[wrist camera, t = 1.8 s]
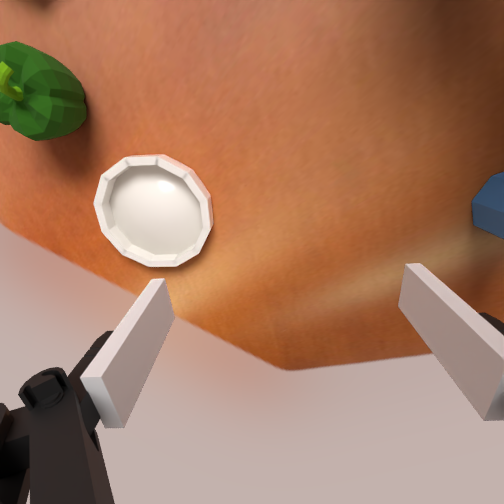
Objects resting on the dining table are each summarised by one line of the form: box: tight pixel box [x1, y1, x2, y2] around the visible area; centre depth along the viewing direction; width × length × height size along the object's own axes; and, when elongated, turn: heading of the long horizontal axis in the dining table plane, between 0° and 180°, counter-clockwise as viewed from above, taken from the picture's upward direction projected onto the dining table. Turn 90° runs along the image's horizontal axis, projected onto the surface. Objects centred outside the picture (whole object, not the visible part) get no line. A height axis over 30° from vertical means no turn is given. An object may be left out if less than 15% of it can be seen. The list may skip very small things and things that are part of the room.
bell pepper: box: [0, 41, 87, 141], centre depth 28 cm, size 8×8×10 cm
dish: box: [94, 154, 214, 267], centre depth 37 cm, size 15×15×3 cm
